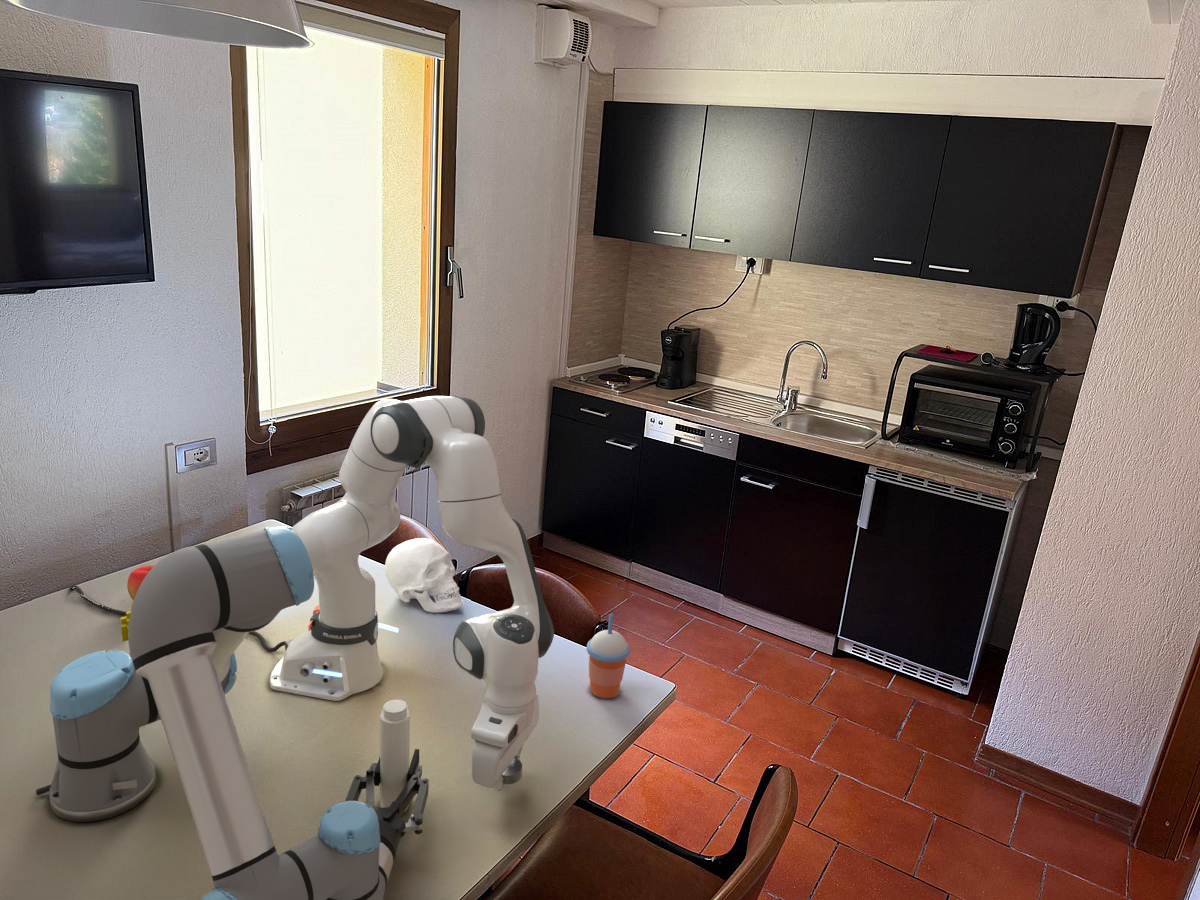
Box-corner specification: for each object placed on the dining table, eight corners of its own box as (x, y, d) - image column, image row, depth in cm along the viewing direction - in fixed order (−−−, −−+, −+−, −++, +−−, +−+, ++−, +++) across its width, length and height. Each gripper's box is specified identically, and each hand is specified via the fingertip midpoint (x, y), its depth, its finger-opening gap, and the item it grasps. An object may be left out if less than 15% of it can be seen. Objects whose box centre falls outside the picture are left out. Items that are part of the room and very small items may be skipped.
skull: (448, 622, 203) (451, 561, 199) (372, 599, 211) (374, 540, 207) (477, 602, 215) (480, 543, 211) (405, 581, 223) (406, 524, 219)
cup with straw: (621, 706, 176) (629, 628, 171) (578, 698, 178) (585, 621, 173) (629, 682, 185) (636, 608, 180) (588, 675, 186) (594, 601, 181)
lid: (503, 761, 154) (503, 752, 153) (527, 772, 151) (528, 763, 151) (485, 776, 149) (486, 768, 149) (510, 788, 147) (510, 779, 146)
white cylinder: (396, 792, 147) (397, 694, 141) (414, 805, 144) (416, 705, 138) (374, 806, 143) (374, 705, 138) (392, 820, 141) (392, 718, 135)
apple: (178, 610, 199) (175, 571, 196) (132, 618, 194) (128, 578, 191) (171, 592, 207) (168, 555, 204) (127, 600, 202) (123, 562, 199)
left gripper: (307, 874, 126) (349, 770, 148) (428, 880, 126) (452, 776, 149) (306, 832, 123) (349, 733, 146) (429, 838, 124) (453, 739, 146)
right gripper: (517, 673, 157) (513, 737, 161) (465, 735, 138) (463, 806, 142) (549, 681, 155) (545, 746, 159) (501, 746, 136) (497, 817, 140)
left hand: (401, 755), depth 147 cm, fingers closed on white cylinder, 5 cm apart
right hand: (506, 775), depth 150 cm, fingers closed on lid, 5 cm apart
